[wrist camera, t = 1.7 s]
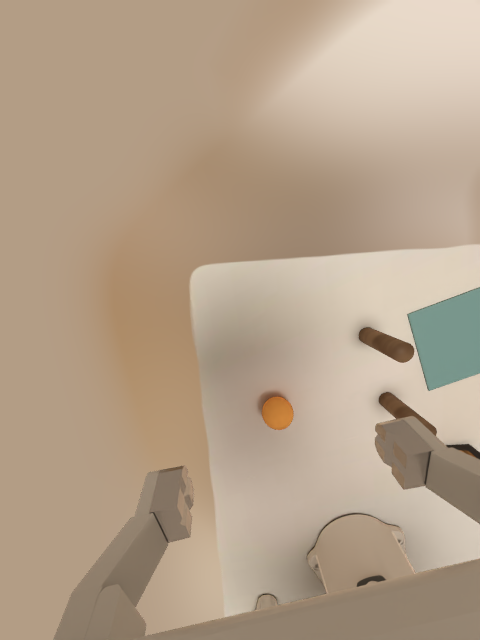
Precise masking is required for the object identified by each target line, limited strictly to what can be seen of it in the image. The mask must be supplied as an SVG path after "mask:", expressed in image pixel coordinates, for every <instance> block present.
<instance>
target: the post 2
mask: <svg viewBox="0 0 480 640" xmlns="http://www.w3.org/2000/svg"><path fill="white" fill-rule="evenodd" d="M379 403H380V404H381V405H382V406H383V407H384V408H385V409H386V410H387V411H388V412H390V413H391V414H392V415H393V416H394V417H395V418H396V419H400V418H405V417H409V416H414V417H416V418H417V419H418V420H419V421H420V422H421V423H422V424H423V425H424V426H425V427H426V428H427V429H429V430H430V431H431V432H432V433H433V434H434V435H435V436H436V433H437V431H436V428H435V427H434V426H433V425H431V424H430V423H429V422H428V421H426V420H425V419H424V418H422V417H421V416H420V415H419V414H417V413H416V412H415V411H413V410H412V409H411V408H410V407H408V406H407V405H406V404H404V403H403V402H402V401H401V400H399V399H398V398H397V397H395V396H394V395H393V394H391V393H389V392H386V393H383V394H382V395H381V396H380V398H379Z"/></svg>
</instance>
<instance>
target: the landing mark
mask: <svg viewBox="0 0 480 640" xmlns="http://www.w3.org/2000/svg"><path fill="white" fill-rule="evenodd" d="M408 318H409V322H410V325H411V329H412V333H413V336H414V340H415V344H416V347H417V351H418V355H419V358H420V362H421V366H422V369H423V373H424V376H425V380H426V384H427V387H428V390H429V391H430V390H433V389H436V388H439V387H442V386H444V385H447V384H450V383H453V382H456V381H459V380H462V379H465V378H467V377H470V376H473V375H476V374H479V373H480V288H477V289H474V290H471V291H469V292H466V293H463V294H461V295H458V296H455V297H453V298H450V299H447V300H445V301H442V302H439V303H436V304H434V305H431V306H428V307H426V308H423V309H420V310H418V311H415V312H412V313H410V314H408Z"/></svg>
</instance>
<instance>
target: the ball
mask: <svg viewBox="0 0 480 640" xmlns="http://www.w3.org/2000/svg"><path fill="white" fill-rule="evenodd" d="M262 416H263V419H264V421H265V423H266V424H267V425H268V426H269V427H270V428H272V429H275V430H282V429H285V428H286V427H288V426H289V425H290V424H291V422H292V420H293V409H292V406H291V404H290V403H289V402H288V401H287V400H286V399H284V398H282V397H272V398H270V399H268V400H267V401H266V402H265V404H264V405H263V408H262Z"/></svg>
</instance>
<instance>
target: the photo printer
mask: <svg viewBox="0 0 480 640" xmlns="http://www.w3.org/2000/svg"><path fill="white" fill-rule="evenodd" d="M273 606H277V601H276V599H275V598H274V597H273V596H271V595H262V596H261V597H259V599H258V602H257V607H256V610H260V609H264V608H268V607H273Z"/></svg>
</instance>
